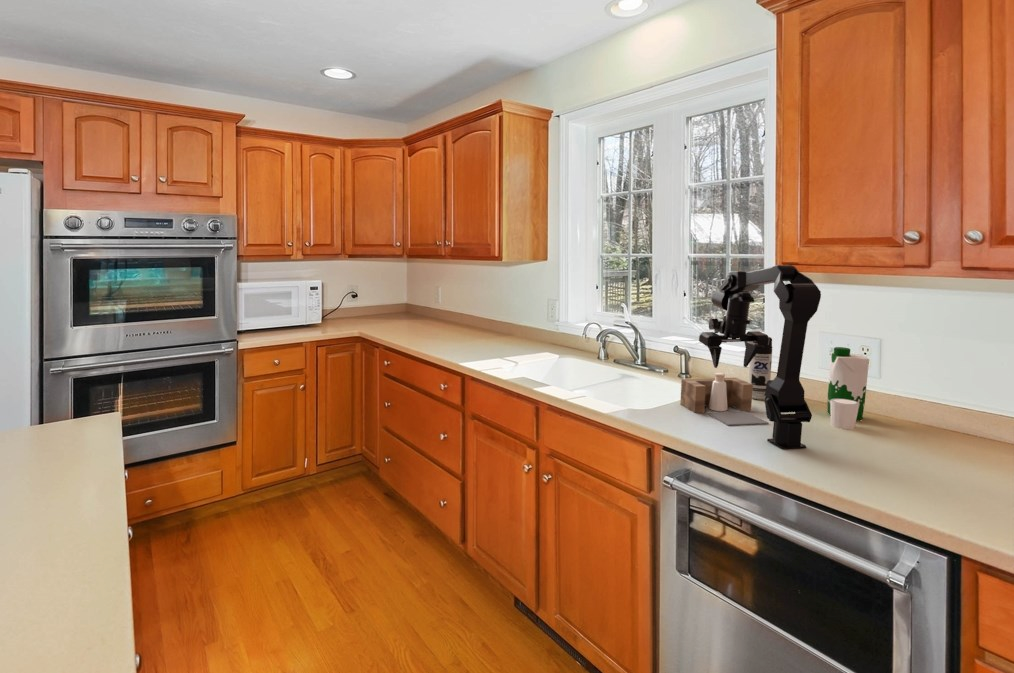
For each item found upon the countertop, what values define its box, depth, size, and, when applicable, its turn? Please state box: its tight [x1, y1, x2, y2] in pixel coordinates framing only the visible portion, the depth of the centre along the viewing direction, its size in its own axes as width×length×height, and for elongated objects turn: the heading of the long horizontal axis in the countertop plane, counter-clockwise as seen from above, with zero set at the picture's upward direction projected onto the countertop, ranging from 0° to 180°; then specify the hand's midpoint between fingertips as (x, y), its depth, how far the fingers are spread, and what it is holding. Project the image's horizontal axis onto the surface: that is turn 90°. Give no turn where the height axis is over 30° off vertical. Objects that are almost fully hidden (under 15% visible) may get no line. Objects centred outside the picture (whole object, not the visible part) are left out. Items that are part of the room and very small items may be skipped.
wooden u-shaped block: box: [680, 377, 753, 414], centre depth 174 cm, size 10×18×8 cm, turn 99°
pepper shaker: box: [708, 372, 728, 412], centre depth 172 cm, size 5×5×11 cm
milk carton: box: [826, 346, 870, 421], centre depth 163 cm, size 9×9×20 cm
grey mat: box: [706, 410, 770, 427], centre depth 162 cm, size 12×12×1 cm
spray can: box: [747, 336, 773, 401], centre depth 185 cm, size 7×7×20 cm
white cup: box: [830, 399, 860, 430], centre depth 155 cm, size 7×7×7 cm
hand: (730, 367), depth 165 cm, fingers open, 9 cm apart
